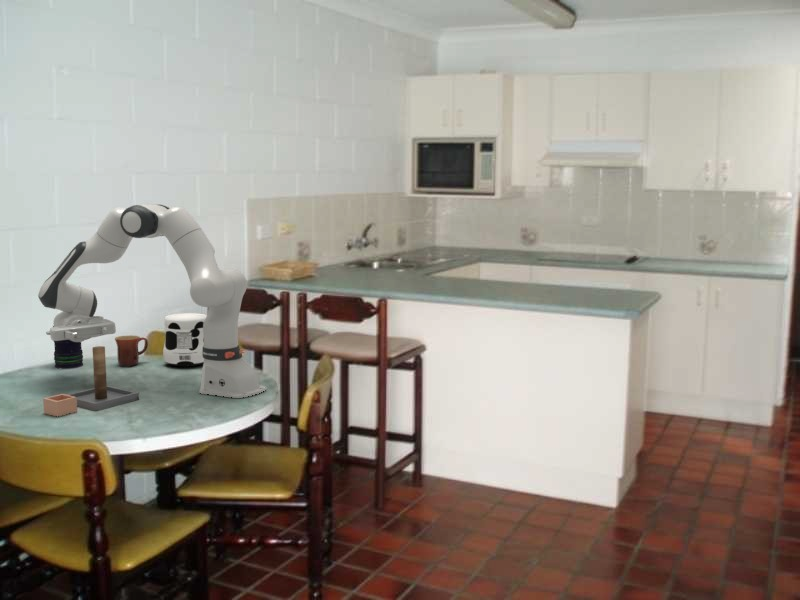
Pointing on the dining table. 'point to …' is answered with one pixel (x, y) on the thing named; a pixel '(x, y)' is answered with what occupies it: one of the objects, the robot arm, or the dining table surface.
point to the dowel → (99, 372)
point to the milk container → (184, 339)
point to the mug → (129, 349)
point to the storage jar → (68, 354)
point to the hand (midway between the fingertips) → (89, 334)
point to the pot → (60, 405)
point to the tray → (113, 398)
